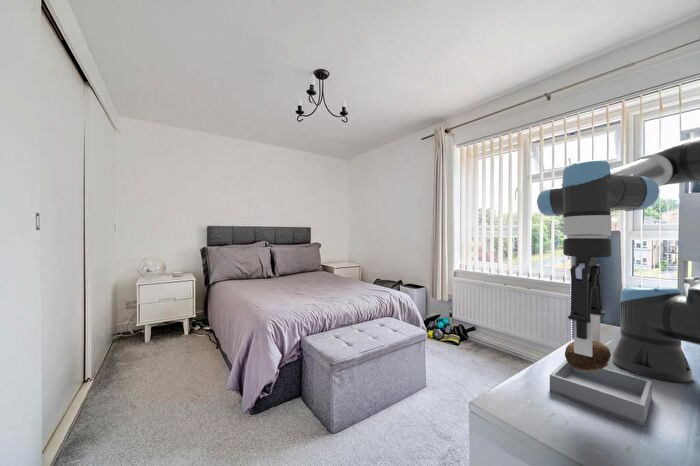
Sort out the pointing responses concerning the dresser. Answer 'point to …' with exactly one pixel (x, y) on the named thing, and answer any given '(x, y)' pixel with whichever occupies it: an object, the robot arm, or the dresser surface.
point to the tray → (605, 391)
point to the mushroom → (586, 362)
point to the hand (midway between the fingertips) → (587, 349)
